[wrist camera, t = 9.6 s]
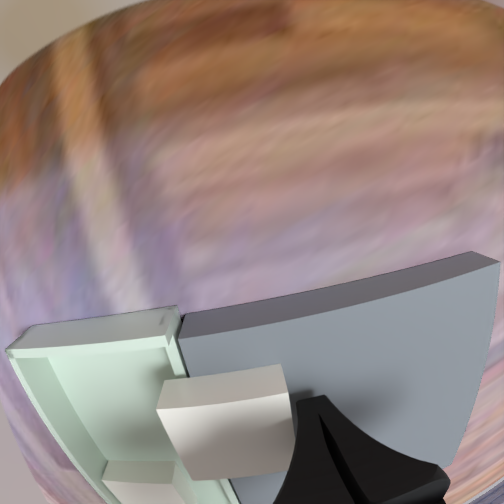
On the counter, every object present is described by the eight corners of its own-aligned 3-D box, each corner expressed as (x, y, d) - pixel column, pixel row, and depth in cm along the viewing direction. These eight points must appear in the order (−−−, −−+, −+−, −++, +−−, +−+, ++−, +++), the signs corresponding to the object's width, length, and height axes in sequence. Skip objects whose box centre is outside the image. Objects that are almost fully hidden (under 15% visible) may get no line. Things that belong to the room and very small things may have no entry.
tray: (247, 504, 18) (249, 533, 15) (142, 506, 18) (137, 532, 15) (176, 305, 14) (165, 335, 11) (32, 325, 14) (4, 349, 11)
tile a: (132, 515, 15) (136, 496, 17) (196, 517, 15) (197, 497, 17) (101, 480, 14) (108, 459, 16) (171, 483, 14) (175, 460, 16)
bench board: (438, 446, 19) (451, 464, 16) (250, 501, 18) (252, 525, 16) (472, 251, 15) (500, 261, 12) (185, 314, 14) (177, 339, 12)
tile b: (292, 439, 13) (299, 468, 12) (195, 452, 13) (192, 481, 11) (280, 363, 12) (288, 392, 10) (164, 380, 12) (155, 409, 10)
